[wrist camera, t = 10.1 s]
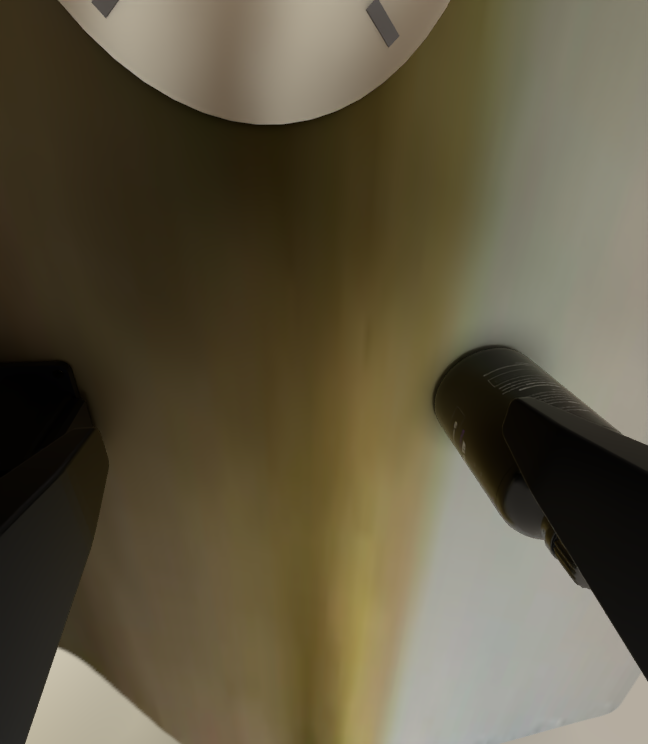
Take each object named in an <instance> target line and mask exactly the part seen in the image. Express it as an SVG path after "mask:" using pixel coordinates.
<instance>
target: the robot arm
mask: <svg viewBox="0 0 648 744" xmlns="http://www.w3.org/2000/svg"><path fill="white" fill-rule="evenodd" d="M55 370H60V371H62V373H63V374H59V373H57V372H56V371H55ZM502 433H503V436H504V438H505V440H506V443H507V445H508V447H509V449H510V451H511V453H512V455H513V457H514V459H515V461H516V463H517V465H518V467H519V469H520V471H521V473H522V475H523V477H524V479H525V481H526V483H527V485H528V487H529V489H530V491H531V493H532V495H533V496H534V498H535V500H536V501H537V503H538V505H539V506H540V508H541V509H542V511H543V513H544V514H545V516H546V518H547V519H548V521H549V522H550V524H551V526H552V527H553V529H554V530H555V532H556V534H557V535H558V537H559V539H560V540H561V542H562V543H563V545H564V547H565V548H566V550H567V552H568V553H569V555H570V556H571V558H572V560H573V561H574V563H575V564H576V566H577V568H578V569H579V571H580V573H581V574H582V576H583V577H584V579H585V581H586V582H587V584H588V585H589V587H590V589H591V590H592V592H593V594H594V595H595V597H596V598H597V600H598V602H599V603H600V605H601V607H602V608H603V610H604V611H605V613H606V615H607V616H608V618H609V619H610V621H611V623H612V624H613V626H614V628H615V629H616V631H617V632H618V634H619V636H620V637H621V639H622V641H623V642H624V644H625V645H626V647H627V649H628V650H629V652H630V653H631V655H632V657H633V658H634V660H635V662H636V663H637V665H638V666H639V668H640V670H641V671H642V673H643V675H644V676H645V678H646V679H647V681H648V445H646V444H643V443H641V442H638V441H636V440H633V439H631V438H629V437H626V436H624V435H621V434H619V433H617V432H614V431H612V430H609V429H607V428H605V427H602V426H600V425H597V424H595V423H593V422H590V421H588V420H585V419H583V418H581V417H578V416H576V415H573V414H571V413H569V412H566V411H564V410H561V409H559V408H556V407H554V406H552V405H549V404H547V403H544V402H542V401H540V400H537V399H535V398H532V397H521V398H515V399H513V400H512V401H511V402H510V404H509V407H508V410H507V413H506V416H505V419H504V422H503V426H502ZM108 469H109V461H108V456H107V453H106V450H105V446H104V443H103V440H102V437H101V434H100V431H99V430H98V429H97V428H95V427H93V426H92V422H91V419H90V416H89V412H88V409H87V406H86V402H85V401H84V400H83V399H82V398H80V396H79V392H78V389H77V386H76V383H75V380H74V376H73V373H72V370H71V368H70V366H69V365H67V364H66V363H64V362H58V361H57V362H24V363H0V744H25V742H26V739H27V736H28V733H29V730H30V727H31V724H32V721H33V718H34V715H35V713H36V709H37V707H38V703H39V701H40V697H41V695H42V692H43V689H44V686H45V683H46V680H47V677H48V674H49V671H50V668H51V665H52V662H53V659H54V656H55V653H56V650H57V647H58V644H59V641H60V638H61V636H62V633H63V630H64V627H65V624H66V621H67V618H68V615H69V612H70V609H71V606H72V603H73V600H74V597H75V594H76V591H77V588H78V585H79V582H80V579H81V576H82V573H83V570H84V567H85V564H86V562H87V559H88V556H89V553H90V549H91V546H92V543H93V539H94V535H95V531H96V527H97V522H98V517H99V512H100V508H101V503H102V498H103V493H104V488H105V484H106V479H107V474H108Z"/></svg>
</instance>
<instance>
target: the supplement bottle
mask: <svg viewBox="0 0 648 744" xmlns="http://www.w3.org/2000/svg"><path fill="white" fill-rule="evenodd" d="M521 397H532V398H535V399H537V400H540V401H542V402H544V403H547V404H549V405H552V406H554V407H556V408H559V409H561V410H564V411H566V412H569V413H571V414H573V415H576V416H578V417H581V418H583V419H585V420H588V421H590V422H593V423H595V424H597V425H600V426H602V427H605V428H607V429H609V430H612V431H614V432H617V433H619V434H621V433H620V432H619V431H618V430H617V429H615V428H614V427H613V426H612V425H610V424H609V423H608V422H607V421H606V420H604V419H603V418H602V417H601V416H599V415H598V414H597V413H596V412H595V411H593V410H592V409H591V408H590V407H588V406H587V405H586V404H585V403H583V402H582V401H581V400H580V399H579V398H577V397H576V396H575V395H574V394H572V393H571V392H570V391H569V390H567V389H566V388H565V387H564V386H563V385H561V384H560V383H559V382H558V381H556V380H555V379H554V378H553V377H552V376H550V375H549V374H548V373H547V372H545V371H544V370H543V369H542V368H540V367H539V366H538V365H537V364H535V363H534V362H533V361H532V360H530V359H529V358H528V357H526V356H525V355H523V354H522V353H520V352H518V351H515V350H512V349H508V348H491V349H486V350H482V351H479V352H476V353H474V354H471V355H469V356H468V357H466V358H464V359H463V360H461V361H460V362H458V363H457V364H456V365H455V366H454V367H453V368H452V369H451V370H450V371H449V372H448V373H447V374H446V376H445V377H444V378H443V380H442V381H441V383H440V385H439V387H438V390H437V393H436V397H435V413H436V416H437V419H438V421H439V423H440V424H441V426H442V428H443V429H444V431H445V432H446V434H447V435H448V437H449V438H450V440H451V441H452V443H453V444H454V446H455V447H456V449H457V450H458V452H459V454H460V455H461V457H462V458H463V460H464V461H465V463H466V464H467V466H468V467H469V469H470V470H471V472H472V473H473V475H474V476H475V478H476V479H477V481H478V482H479V484H480V485H481V487H482V488H483V490H484V491H485V493H486V494H487V496H488V497H489V499H490V500H491V502H492V503H493V505H494V506H495V508H496V509H497V511H498V512H499V514H500V515H501V516H502V518H503V519H504V521H505V522H506V523H507V524H508V525H509V526H510V527H512V528H513V529H514V530H516V531H517V532H519V533H521V534H523V535H525V536H528V537H531V538H535V539H541V540H545V544H546V547H547V548H548V549H549V551H550V552H551V554H552V555H553V556H554V557H555V558H556V559H558V560H559V562H560V563H561V565H562V566H563V567H564V569H565V570H566V571H567V573H568V574H569V576H570V577H571V578H572V580H573V581H574V582H575V583H576V584H577V585H580V586H581V587H582V588H588V589H590V587H589V585H588V584H587V582H586V581H585V579H584V577H583V576H582V574H581V573H580V571H579V569H578V568H577V566H576V564H575V563H574V561H573V560H572V558H571V556H570V555H569V553H568V552H567V550H566V548H565V547H564V545H563V543H562V542H561V540H560V539H559V537H558V535H557V534H556V532H555V530H554V529H553V527H552V526H551V524H550V522H549V521H548V519H547V518H546V516H545V514H544V513H543V511H542V509H541V508H540V506H539V505H538V503H537V501H536V500H535V498H534V496H533V495H532V493H531V491H530V489H529V487H528V485H527V483H526V481H525V479H524V477H523V475H522V473H521V471H520V469H519V467H518V465H517V463H516V461H515V459H514V457H513V455H512V453H511V451H510V449H509V447H508V445H507V443H506V440H505V438H504V436H503V433H502V426H503V422H504V419H505V416H506V413H507V410H508V407H509V404H510V402H511V401H512V400H513V399H515V398H521ZM621 435H622V434H621Z"/></svg>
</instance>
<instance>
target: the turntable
mask: <svg viewBox="0 0 648 744" xmlns="http://www.w3.org/2000/svg"><path fill="white" fill-rule="evenodd" d="M449 1H450V0H59V2H60V3H61V4H62V5H63V6H64V7H65V8H66V10H67V11H68V12H69V13H70V14H71V15H72V17H73V18H74V19H75V20H76V21H77V22H78V23H79V25H80V26H81V27H82V28H83V29H84V30H85V31H86V32H87V33H88V34H89V35H90V36H91V37H92V38H93V39H94V40H95V41H96V42H97V43H98V44H99V45H100V46H101V47H102V48H103V49H104V50H106V51H107V52H108V53H109V54H110V55H111V56H112V57H113V58H114V59H115V60H116V61H118V62H119V63H120V64H122V65H123V66H124V67H126V68H127V69H128V70H129V71H131V72H132V73H133V74H135V75H136V76H137V77H139V78H140V79H141V80H142V81H144V82H145V83H147V84H149V85H150V86H152V87H154V88H155V89H157V90H159V91H160V92H162V93H164V94H165V95H167V96H169V97H170V98H172V99H174V100H176V101H178V102H180V103H183V104H185V105H187V106H189V107H192V108H194V109H196V110H198V111H201V112H203V113H206V114H209V115H213V116H216V117H219V118H223V119H226V120H230V121H235V122H242V123H250V124H257V125H269V124H288V123H294V122H300V121H306V120H311V119H314V118H317V117H320V116H323V115H326V114H329V113H332V112H336V111H338V110H340V109H342V108H344V107H346V106H348V105H349V104H351V103H353V102H355V101H357V100H359V99H361V98H362V97H364V96H365V95H367V94H368V93H370V92H371V91H372V90H374V89H375V88H377V87H378V86H379V85H381V84H382V83H384V82H385V81H386V80H387V79H388V78H389V77H390V76H391V75H392V74H393V73H395V72H396V71H397V70H398V69H399V68H400V67H401V66H402V65H403V64H404V63H405V62H406V61H407V60H408V59H409V58H410V56H411V55H412V54H413V53H414V52H415V51H416V49H417V48H418V47H419V46H420V45H421V43H422V42H423V41H424V40H425V39H426V37H427V36H428V34H429V33H430V31H431V30H432V28H433V27H434V25H435V24H436V22H437V21H438V19H439V18H440V16H441V15H442V13H443V12H444V10H445V9H446V7H447V5H448V3H449Z"/></svg>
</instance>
